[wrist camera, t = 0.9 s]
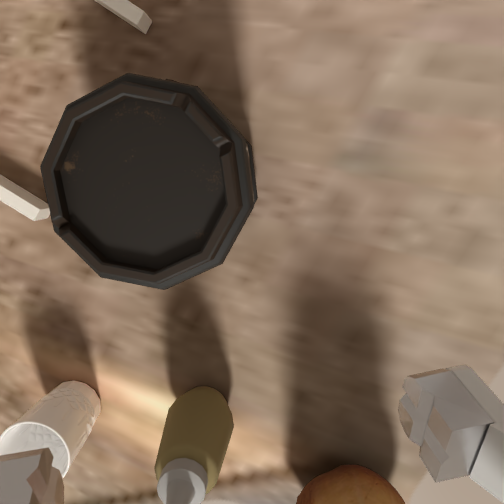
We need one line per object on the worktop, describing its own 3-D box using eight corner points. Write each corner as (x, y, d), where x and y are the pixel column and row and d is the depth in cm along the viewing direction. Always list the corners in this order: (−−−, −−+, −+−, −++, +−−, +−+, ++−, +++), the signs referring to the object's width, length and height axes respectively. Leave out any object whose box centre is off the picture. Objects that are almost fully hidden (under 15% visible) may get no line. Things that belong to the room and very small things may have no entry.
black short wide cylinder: (274, 112, 47) (276, 84, 31) (244, 268, 50) (232, 312, 35) (114, 80, 47) (37, 37, 31) (95, 238, 50) (17, 269, 35)
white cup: (73, 442, 56) (30, 500, 46) (33, 397, 55) (-19, 447, 45) (118, 410, 55) (85, 463, 45) (78, 364, 54) (35, 407, 44)
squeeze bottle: (185, 442, 55) (145, 571, 37) (163, 387, 54) (111, 494, 36) (245, 425, 54) (232, 549, 37) (223, 369, 53) (200, 470, 35)
